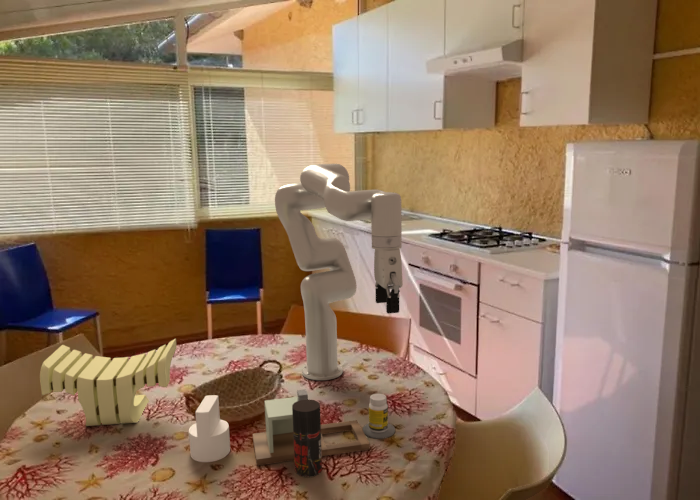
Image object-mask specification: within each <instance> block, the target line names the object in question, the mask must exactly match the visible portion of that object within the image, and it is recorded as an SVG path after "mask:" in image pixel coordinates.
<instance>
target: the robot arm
mask: <svg viewBox="0 0 700 500" xmlns="http://www.w3.org/2000/svg"><path fill="white" fill-rule="evenodd" d="M274 206H275V212H276V214H277V216H278V217H277V218H278V219H279V221H280V223H281V224H282V226H283V228H284V230H285V233H286V234H287V237H288V241H289V243H290V247H291V249H292V253H293V254H294V258H295V261H296V264H297V266H298V267H299V269H300V270H301V271H303V272H312V271H313V272H314V271H317V270H318V271H319V270H325V269H326V271H321V272H315V273H311V274H309V275H306V276H305V277H304V278H303V279H302V281H301V283H300V293H301V294H300V295H301V299H302V301H303V302H302V303H303V309H304V323H305V325H304V326H305V347H306V349H305V353H306V365H305V366H303V367H302V370H301V375H302V376H303V377H304V378H306V379H309V380H312V381H328V380H333V379H336V378H338V377H340V376H341V375H342V374H343V372H344V371H343V370H344V369H343V367H342V365H341V364H339V363H338V362H339V361H338V335H337V334H338V333H337V329H338V326H337V324H338V323H337V317H336V314H335V311H334V310H333V309H332V308H331V306H330V304H331V303H335V302H340V301H344V300H348V299H351V298H353V297H354V296H355V294H356V293H357V281H356V277H355V273H354V270H353V267H352V265H351V262H350V261H351V260H350V258H349V255H348V253H347V251H346V250H347V249H346V248H345V246H344V244H343V243H342V241H341V240H339V239H338V238H336V237H321V238H320V237H318V235H317V232H316V230H315V229H316V228H315V227H314V223H313V222H311V221H310V219H309V218H308V217H307V216H306V215H304V214H303V213H302V212H301V211H311V210H318V209H319V210H320V209H326V210H327V213H329V214H330V215H332V216H334V217H335V218H336V219H339V220H342V221H345V222H354V221H355V222H356V221H363V220H371V221H370V222H371V225H370V226H371V228H370V229H371V249H373V250H374V256H373V260H374V262H373V263H374V264H373V275H374V276H373V277H374V281H375V284H374V285H375V303H376V304H386V308H385V309H386V310H385V311H386V314H398V313H400V296H401V295H400V292H401V290H400V288H403V281H404V280H403V265H402V254H401V249H402V246H403V245H402V244H403V243H402V230H403V229H402V196H401V195H400V194H399V193H397V192H391V191H384V190H380V189H364V190H361V189H360V190H353V191H352V190H351V183H350V175H349V172H348V170H347V169H346V167H345V166H344V165H342V164H340V163H322V164H321V163H319V164H311V165H308V166H306V167H305V168H304V169H303V170H302V171H301V174H300V177H299V182H295V183H288V184H285V185H282V186H280V187H279V188H278V189H277V190H276V192H275V196H274ZM327 269H328V270H327Z"/></svg>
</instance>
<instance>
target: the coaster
mask: <svg viewBox="0 0 700 500" xmlns="http://www.w3.org/2000/svg"><path fill="white" fill-rule="evenodd" d="M362 430H363V432H364V434H365V436H366V437H368V438H371V439H374V440H375V439H379V440H380V439H381V440H382V439H387V438H391V437H392V436H393V435H394V434H395V433H396V427H395V425H393V424H392V423H389V422H388V429H387V430H386V431H385V432H382V433H375V432H372V431H371V430H370V429H369V422H368V423H366V424H365V425H364V426H362Z"/></svg>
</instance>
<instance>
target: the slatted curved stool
mask: <svg viewBox="0 0 700 500" xmlns="http://www.w3.org/2000/svg"><path fill="white" fill-rule="evenodd" d="M176 350H177V338H174V339H172V340H170V341H169V342H168V344H167V345H166V343H165V344H163V345H161V346H160V347H158V348H157V350H156V349H152V350H150V351H148V353H146V352H143V353H140V354H137V355H132V356H131V357H130V359H129V357H128V356H125V357H114V358H111V357H106V356H99V355H95V356H93V354H90V353H86V352H85V353H84V354H82V351H80V350H77V349H72V351H71V347H70V346H67V345H65V344H62V345H60V346H59V347H58V348H57V349H56V350H55V351H54V352H53V353H51V354H50V355H49V356H47V358H46V359H45V360H44V361H43V362H42V363H41V364H42V365H40V372H39V381H40V391H41V396H45V395H48V394H51V392H52V391H53V393H62V392H63V391H65V393H66V394H70V395H72V396H75V395H76V394H77V399H78V402H79V404H80V405H81V408H82V410H83V413H84V417H85V426H86V427H91V426H93V427H94V426H101V425H103V426H104V425H105V426H106V425H107V426H108V425H119V424H135V423H139V422H140V420H141V418H142V417H141V415H142V413H143V411H144V409H145V407H146V405H147V403H148V402H149V403H150V401H149V400H150V399H149V398H148V397H147V395H146V394H136V393H137V392H138V391H140V390H141V389H143V388H145V386H146V387H148V388H149V387H156V385H157V384H158V387H162V388H167V387H168V385H169V383H170V380H171V365H172V360H173V356H174V354H175V352H176ZM111 359H112V360H111ZM149 403H148V404H149ZM147 406H148V405H147ZM146 408H147V407H146ZM145 410H146V409H145ZM144 412H145V411H144ZM143 414H144V413H143ZM142 416H143V415H142ZM140 417H141V418H140ZM139 419H140V420H139ZM138 421H139V422H138ZM101 423H102V424H101Z"/></svg>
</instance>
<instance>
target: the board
mask: <svg viewBox="0 0 700 500" xmlns="http://www.w3.org/2000/svg"><path fill="white" fill-rule="evenodd" d="M348 431H351V432H352V434H353V436H354V438H355V440H354V441H353V440H352V441H346V442H345V441H344V442H339V443H338V442H337V443H331V444H326V442H325V440H324V437H323V435H326V434H334V433H341V432H348ZM367 437H368V436H366V435H365V434H364V432H363V427H361V425H360V423H359V421H358V420H357V419H355V420H348V421H346V420H345V421H341V422H339V421H338V422H333V423H325V424H321V451H322V457H326V456H333V455H341V454H347V453H354V452H359V451H360V452H361V451H369V450H371V449H370V448H371V443H370V441H369V438H367ZM252 442H253V448H254V454H255V455H254V456H255V460H256V466H257V467H258V466H265V465H271V464H277V463H283V462H284V463H286V462H290V461H292V462H293V461H294V438H293V432H291V433H284V434H276V435H273V451H274V453H270V451H269V446H268V441H267V436H266V431H263V432H256V433H252Z"/></svg>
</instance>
